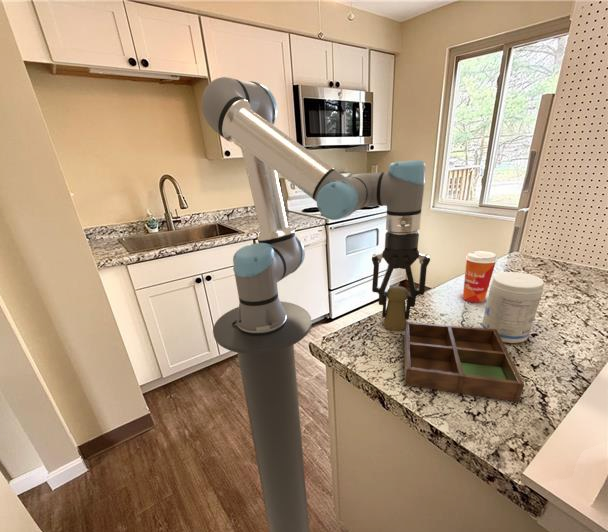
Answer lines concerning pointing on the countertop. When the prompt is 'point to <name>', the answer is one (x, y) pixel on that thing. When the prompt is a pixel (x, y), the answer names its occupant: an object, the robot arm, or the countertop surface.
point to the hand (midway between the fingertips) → (395, 315)
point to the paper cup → (478, 275)
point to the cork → (396, 308)
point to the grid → (460, 361)
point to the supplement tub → (512, 305)
